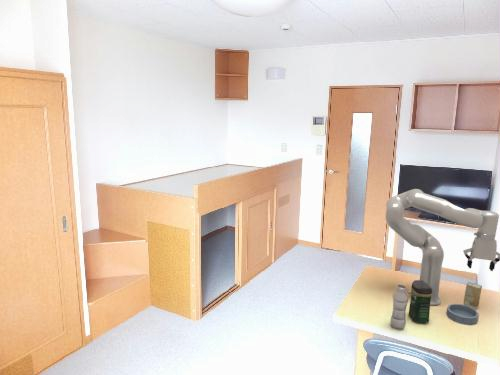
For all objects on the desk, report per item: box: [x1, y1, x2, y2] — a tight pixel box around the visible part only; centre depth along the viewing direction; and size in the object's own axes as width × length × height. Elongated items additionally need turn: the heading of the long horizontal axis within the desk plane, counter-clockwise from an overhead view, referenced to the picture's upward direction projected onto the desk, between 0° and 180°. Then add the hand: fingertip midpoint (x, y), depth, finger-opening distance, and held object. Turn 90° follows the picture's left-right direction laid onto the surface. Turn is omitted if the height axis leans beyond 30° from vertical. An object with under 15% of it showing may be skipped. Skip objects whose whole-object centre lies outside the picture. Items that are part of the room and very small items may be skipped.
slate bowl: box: [445, 303, 480, 326], centre depth 183 cm, size 13×13×4 cm
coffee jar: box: [408, 279, 432, 325], centre depth 180 cm, size 10×8×19 cm
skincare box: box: [462, 281, 483, 311], centre depth 192 cm, size 6×4×12 cm
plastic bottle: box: [390, 284, 409, 330], centre depth 173 cm, size 6×7×20 cm
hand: (480, 268), depth 189 cm, fingers open, 9 cm apart
